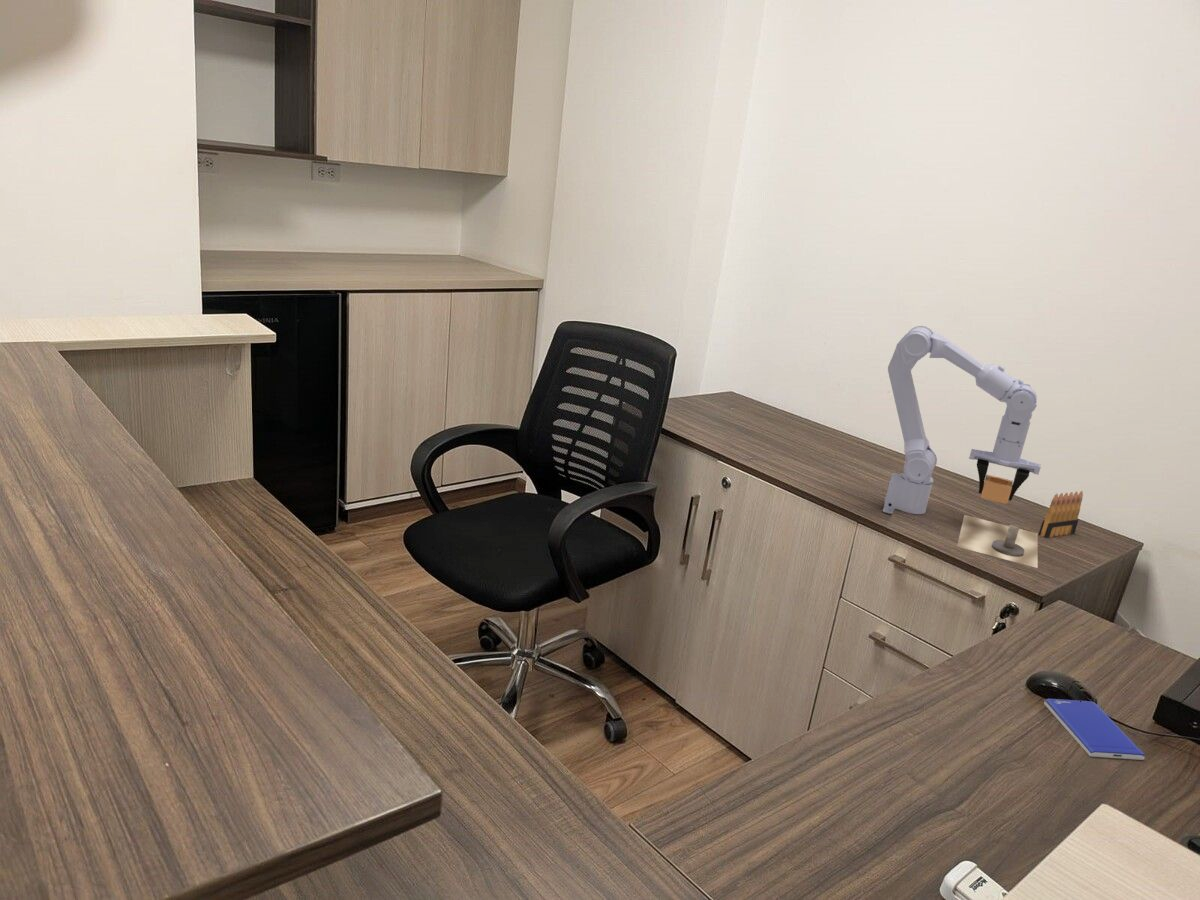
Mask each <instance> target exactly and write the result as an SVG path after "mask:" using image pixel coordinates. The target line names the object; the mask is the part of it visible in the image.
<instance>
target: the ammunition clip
mask: <svg viewBox="0 0 1200 900" xmlns="http://www.w3.org/2000/svg"><path fill="white" fill-rule="evenodd" d="M1083 497H1084V493H1083V490H1081V491H1079V493H1078V491H1075V492H1074V493H1073V492H1070V493H1069V494H1068V492H1065V494H1063V493H1062V492H1061V493H1060V494H1058V493H1055V495H1054V496H1053V498H1052V499H1051V501H1050V502H1051V503H1050V505H1049V506H1048V507H1049V508H1048V509H1047V512H1046V515H1045V518H1044V520H1042V523H1041V525H1040V529H1039V531H1038V536H1041V537H1043V538H1044V539H1048V538H1053V537H1059V536H1063V535H1067V536H1068V535H1069V534H1070V535H1074V534H1075V533H1076V530H1077V526H1078V522H1079V519H1078V517H1079V515H1080V511H1081V506H1082V501H1083Z"/></svg>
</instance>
